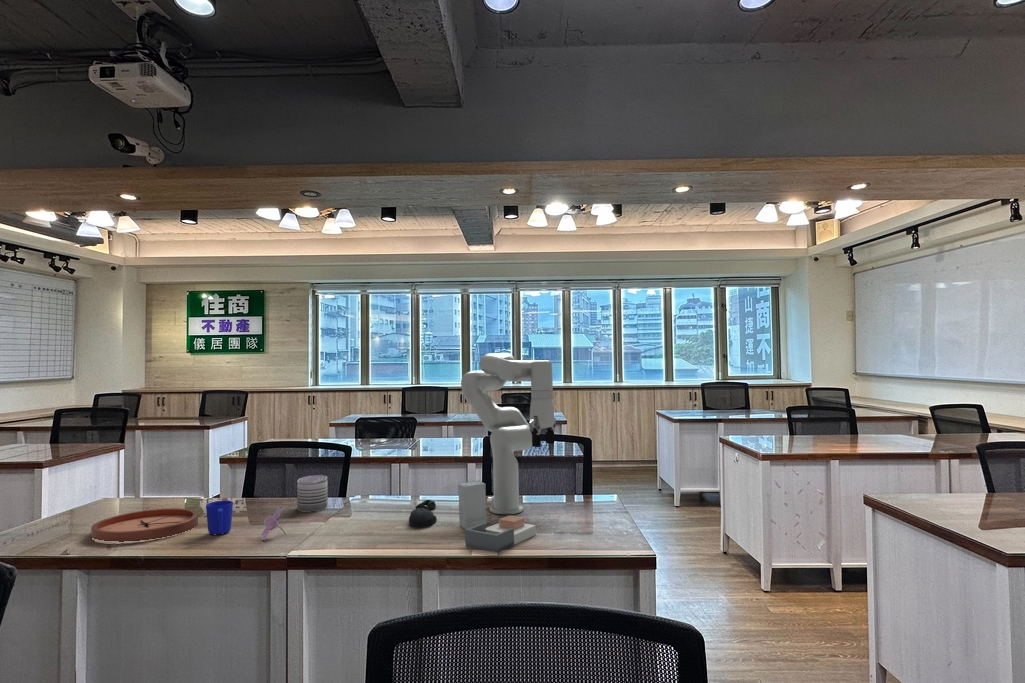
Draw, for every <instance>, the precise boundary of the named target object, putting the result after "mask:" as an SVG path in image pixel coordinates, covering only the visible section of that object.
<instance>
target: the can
mask: <svg viewBox="0 0 1025 683" xmlns="http://www.w3.org/2000/svg"><path fill="white" fill-rule="evenodd" d="M296 483H297V484H296V487H297V488H296V489H297V490H296V491H297V497H296V498H297V500H296V504H297V507H296V508H297V509H296V510H297V511H298V510H299V512H300V511H301V512H300V513H312V512H311V511H316V512H319V511H318V510H321V511H323V510H322V509H324V510H326V509H327V508H328V507H327V506H328V502H329V501H328V499H329V498H328V497H329V496H328V476H327V475H323V474H316V475H315V474H314V475H307V476H303V477H300V478H298V480H296ZM326 507H327V508H326ZM325 508H326V509H325Z"/></svg>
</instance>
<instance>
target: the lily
mask: <svg viewBox="0 0 1025 683" xmlns="http://www.w3.org/2000/svg"><path fill="white" fill-rule="evenodd" d="M284 509H285V507H284V506H283V507H282V508H280V506H278V507H277V509H276V510H275V512H274V514H273V515H271V514H270V515H268V516H266V517H265V518H264V521H263V523H264V526H265V528H264V530H262V533H261V534H260V536H261V535H262V536H261V537H262V540H264V541H265V539H266V538H267V536H268V534H269V533H270V531H273V530H276V529H280V530H281V531H282V532H283V534H284V535H285V534H286V532H285V531H284V529H283V528H282V527H281V526H280V525H279V524H280V522H279V517H280V515H281V514H282V513H283V511H284ZM286 535H287V534H286Z"/></svg>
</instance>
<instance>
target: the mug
mask: <svg viewBox="0 0 1025 683" xmlns="http://www.w3.org/2000/svg"><path fill="white" fill-rule="evenodd" d="M233 507H234V502H233V501H232V500H217V501H216V500H215V501H212V502H209V503H207V504H206V505H205V510H206V521H207V531H208V534H209V533H210V534H209V535H211V534H222V533H226V532H228V533H230V531H231V529H232V523H233V522H232V519H233V511H234V510H233V509H234V508H233ZM226 534H227V533H226ZM222 535H223V534H222Z"/></svg>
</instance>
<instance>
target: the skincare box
mask: <svg viewBox="0 0 1025 683" xmlns="http://www.w3.org/2000/svg"><path fill="white" fill-rule="evenodd" d="M457 484H458V513H459V514H458V517H459V526H461V528H463V529H464V530H466V529H468V528H471V527H474V526H476V525H479V524H481V523H486V524H487V502H486V500H487V499H486V498H487V496H486V492H487V491H486V483H484V482H482V481H481V480H473V481H468V482H467V481H466V482H460V483H457Z"/></svg>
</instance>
